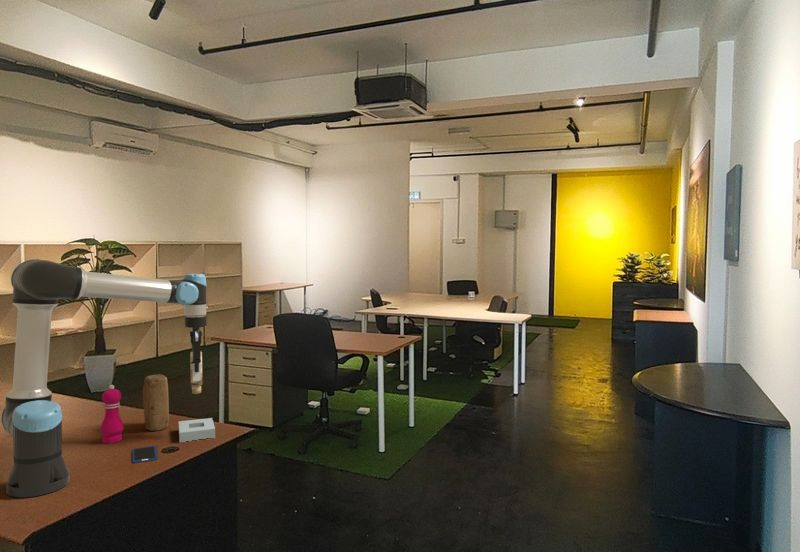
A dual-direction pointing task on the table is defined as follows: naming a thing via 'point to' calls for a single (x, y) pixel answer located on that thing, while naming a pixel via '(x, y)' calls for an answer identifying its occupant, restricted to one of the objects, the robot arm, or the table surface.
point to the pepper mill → (111, 416)
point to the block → (156, 402)
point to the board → (196, 429)
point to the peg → (195, 384)
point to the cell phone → (144, 454)
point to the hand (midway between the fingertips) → (196, 379)
